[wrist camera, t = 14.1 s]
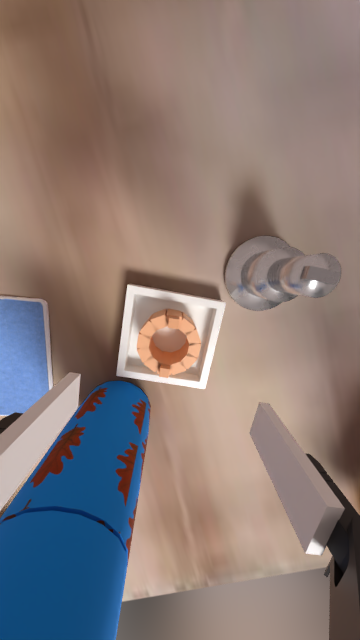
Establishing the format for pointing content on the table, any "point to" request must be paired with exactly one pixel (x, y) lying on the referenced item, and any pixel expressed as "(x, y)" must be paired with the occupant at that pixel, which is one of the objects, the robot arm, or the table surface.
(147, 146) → the table surface
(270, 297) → the grey stepped cylinder
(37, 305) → the tablet computer
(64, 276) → the table surface
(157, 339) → the tray
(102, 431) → the thermos
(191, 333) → the ring
